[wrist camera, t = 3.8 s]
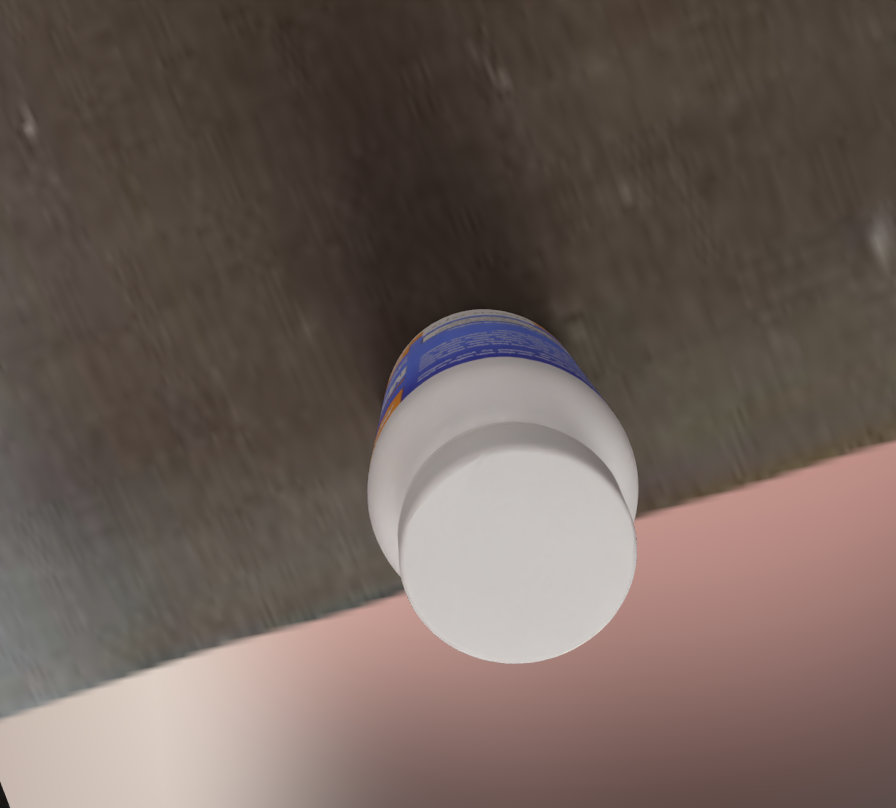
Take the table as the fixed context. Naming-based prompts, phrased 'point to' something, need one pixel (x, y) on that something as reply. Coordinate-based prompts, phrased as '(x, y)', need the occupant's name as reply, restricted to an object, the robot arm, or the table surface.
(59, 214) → the table surface
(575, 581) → the pill bottle
